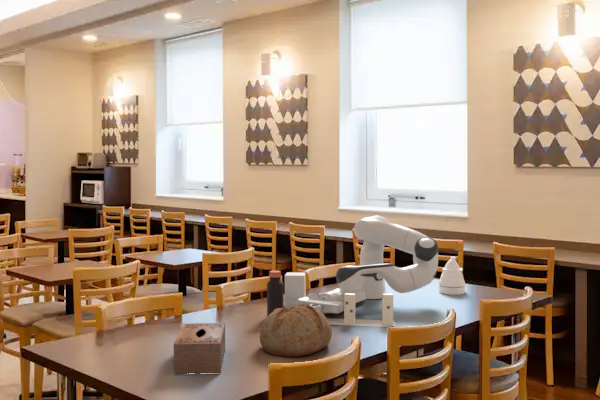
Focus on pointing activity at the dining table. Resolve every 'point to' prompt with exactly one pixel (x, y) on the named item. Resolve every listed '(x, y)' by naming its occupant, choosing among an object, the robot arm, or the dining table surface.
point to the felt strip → (359, 322)
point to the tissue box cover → (199, 348)
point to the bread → (295, 331)
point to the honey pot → (452, 279)
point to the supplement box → (294, 288)
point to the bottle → (274, 292)
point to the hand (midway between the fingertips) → (311, 309)
